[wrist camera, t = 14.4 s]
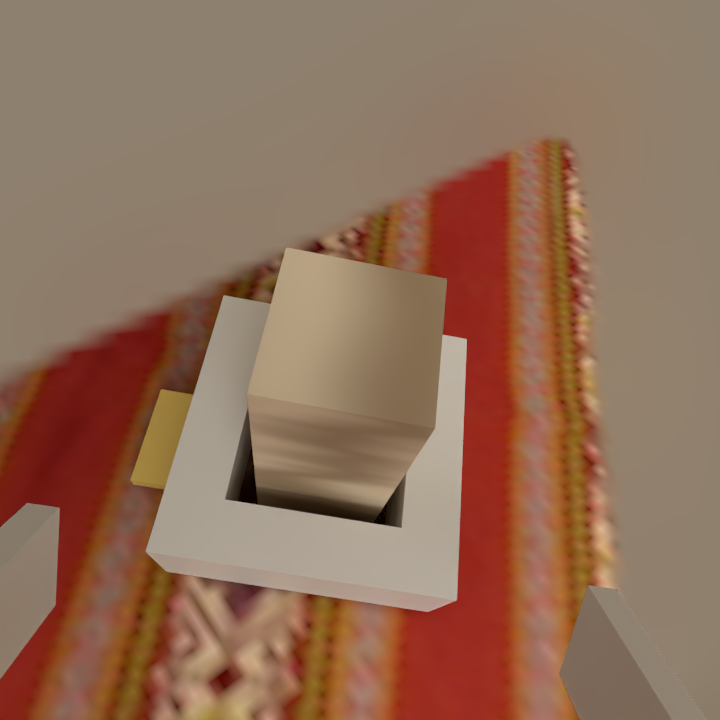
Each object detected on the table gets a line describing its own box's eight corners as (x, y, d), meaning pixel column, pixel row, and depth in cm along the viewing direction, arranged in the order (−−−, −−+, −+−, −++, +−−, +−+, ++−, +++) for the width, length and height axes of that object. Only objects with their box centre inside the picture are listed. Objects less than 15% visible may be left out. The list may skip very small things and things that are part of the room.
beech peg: (258, 511, 23) (246, 393, 13) (281, 410, 25) (285, 247, 15) (368, 530, 23) (434, 428, 13) (381, 428, 25) (447, 278, 16)
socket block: (107, 562, 21) (74, 541, 18) (182, 337, 26) (168, 285, 23) (427, 611, 22) (456, 600, 18) (441, 382, 27) (466, 339, 23)
